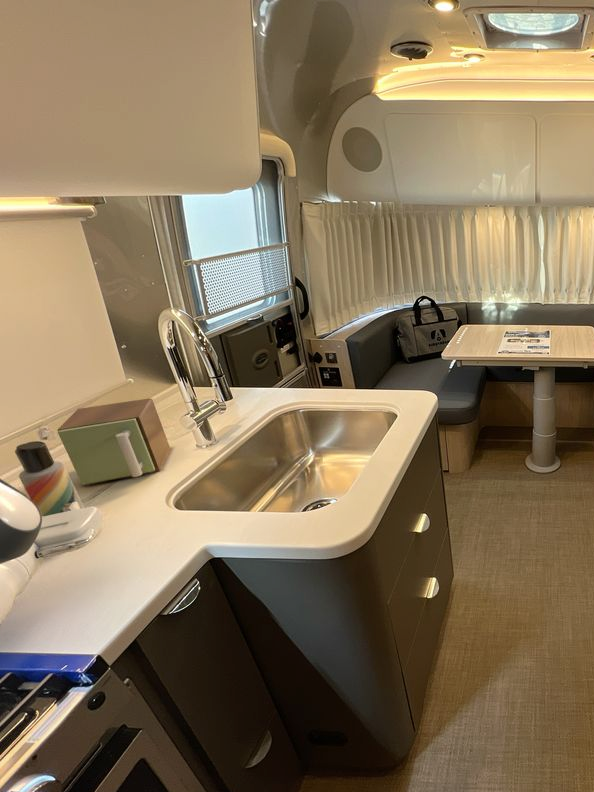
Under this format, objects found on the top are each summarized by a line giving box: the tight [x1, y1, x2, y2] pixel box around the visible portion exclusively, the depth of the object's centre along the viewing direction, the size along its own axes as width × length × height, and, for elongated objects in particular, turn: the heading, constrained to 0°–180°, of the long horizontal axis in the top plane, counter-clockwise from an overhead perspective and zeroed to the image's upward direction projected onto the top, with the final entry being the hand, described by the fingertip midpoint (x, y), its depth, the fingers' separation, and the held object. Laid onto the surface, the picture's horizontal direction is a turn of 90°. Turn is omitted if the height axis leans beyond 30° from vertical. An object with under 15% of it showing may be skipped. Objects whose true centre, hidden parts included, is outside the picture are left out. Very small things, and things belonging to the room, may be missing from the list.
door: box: [57, 418, 155, 486], centre depth 104 cm, size 13×5×13 cm, turn 115°
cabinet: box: [57, 397, 171, 487], centre depth 111 cm, size 14×12×14 cm
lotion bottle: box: [14, 440, 85, 517], centre depth 86 cm, size 6×6×20 cm
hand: (37, 513), depth 81 cm, fingers open, 8 cm apart
